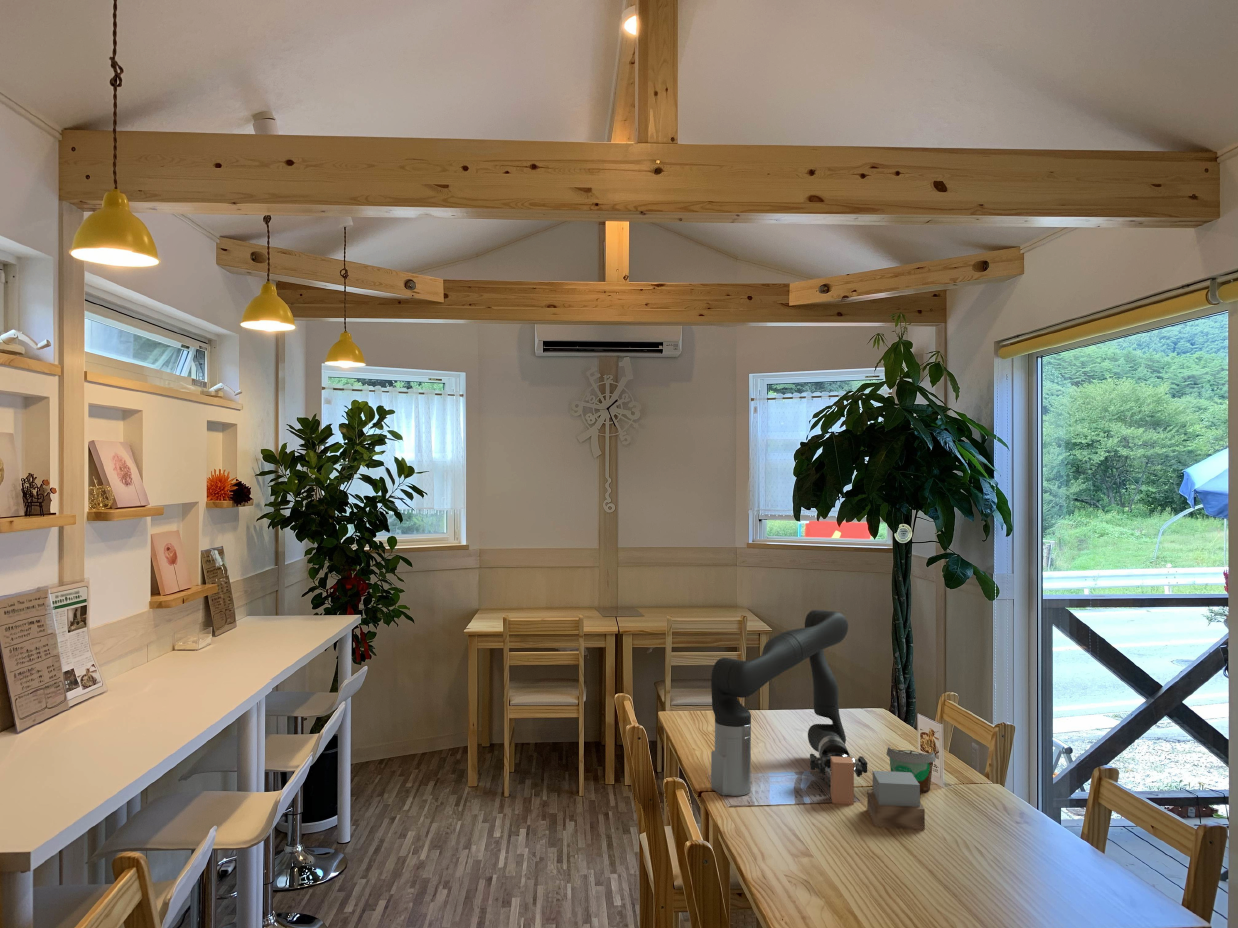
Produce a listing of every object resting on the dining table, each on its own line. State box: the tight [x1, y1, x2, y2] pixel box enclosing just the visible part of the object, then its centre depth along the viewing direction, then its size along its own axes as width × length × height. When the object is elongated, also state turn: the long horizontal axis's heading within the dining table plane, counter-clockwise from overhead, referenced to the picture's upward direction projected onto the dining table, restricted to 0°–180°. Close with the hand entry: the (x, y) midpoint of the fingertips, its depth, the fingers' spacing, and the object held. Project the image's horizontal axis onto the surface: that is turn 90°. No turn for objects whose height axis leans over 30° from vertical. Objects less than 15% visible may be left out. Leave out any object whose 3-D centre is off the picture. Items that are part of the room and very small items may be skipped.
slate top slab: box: [872, 770, 921, 807], centre depth 202 cm, size 9×9×5 cm
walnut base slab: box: [866, 790, 926, 831], centre depth 202 cm, size 11×11×5 cm
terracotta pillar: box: [830, 756, 855, 806], centre depth 214 cm, size 5×5×10 cm
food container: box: [886, 746, 936, 794], centre depth 222 cm, size 12×6×10 cm, turn 62°
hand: (841, 771), depth 215 cm, fingers open, 8 cm apart
